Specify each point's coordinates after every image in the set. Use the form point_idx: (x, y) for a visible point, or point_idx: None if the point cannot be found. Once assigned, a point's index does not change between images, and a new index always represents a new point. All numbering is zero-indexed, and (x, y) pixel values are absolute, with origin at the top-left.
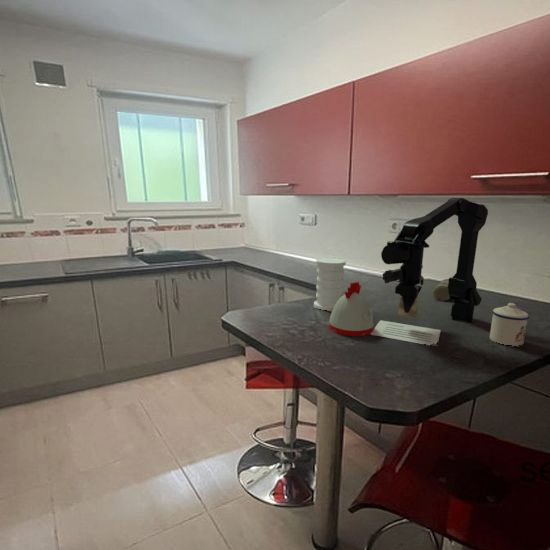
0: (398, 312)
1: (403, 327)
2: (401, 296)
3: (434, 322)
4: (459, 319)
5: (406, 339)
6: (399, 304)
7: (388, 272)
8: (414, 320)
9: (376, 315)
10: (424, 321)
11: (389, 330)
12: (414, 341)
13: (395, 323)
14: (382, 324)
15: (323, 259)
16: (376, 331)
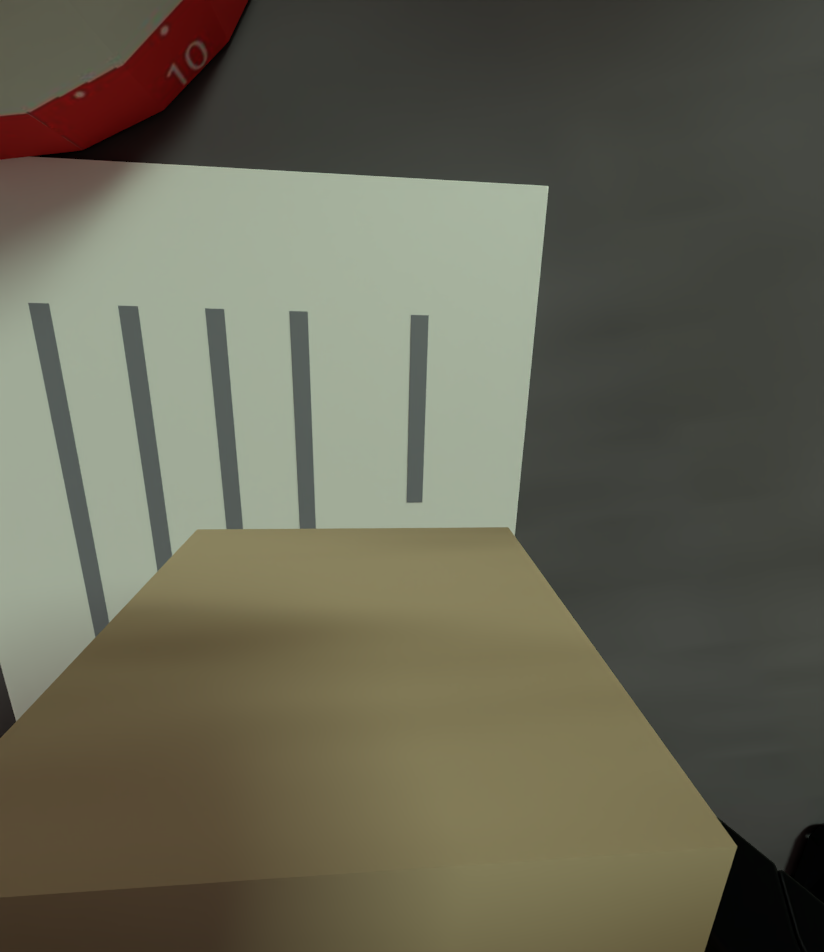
0: (182, 550)
1: (396, 506)
2: (515, 867)
3: (699, 725)
4: (806, 881)
5: (26, 588)
6: (63, 689)
7: None
8: (701, 568)
9: (764, 82)
10: (700, 652)
11: (193, 376)
12: (23, 660)
13: (498, 402)
14: (377, 248)
15: None
16: (41, 217)
